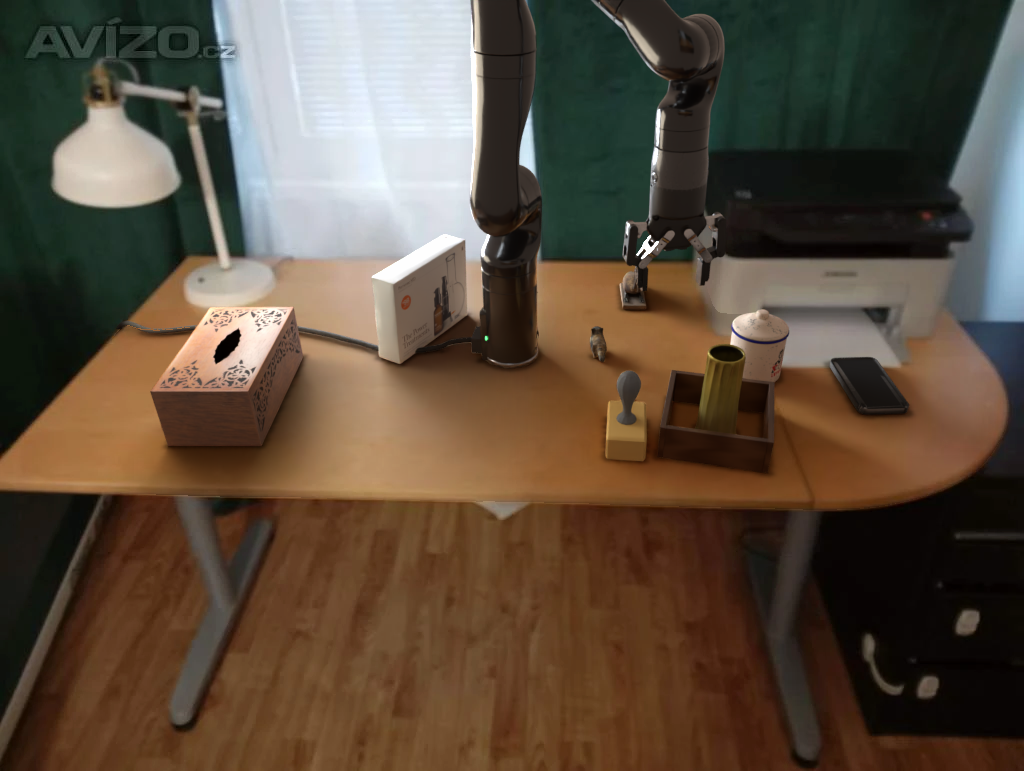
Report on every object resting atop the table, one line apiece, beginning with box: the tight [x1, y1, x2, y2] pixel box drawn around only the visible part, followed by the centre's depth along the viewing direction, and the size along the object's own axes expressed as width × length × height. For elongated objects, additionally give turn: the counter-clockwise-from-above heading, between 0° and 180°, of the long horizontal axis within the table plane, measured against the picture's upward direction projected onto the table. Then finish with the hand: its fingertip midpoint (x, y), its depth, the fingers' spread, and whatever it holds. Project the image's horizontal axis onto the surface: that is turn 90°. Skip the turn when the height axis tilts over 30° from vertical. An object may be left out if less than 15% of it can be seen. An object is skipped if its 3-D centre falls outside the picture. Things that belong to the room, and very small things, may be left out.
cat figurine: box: [589, 325, 608, 363], centre depth 142 cm, size 3×8×4 cm, turn 4°
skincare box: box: [370, 233, 468, 365], centre depth 146 cm, size 21×5×16 cm, turn 148°
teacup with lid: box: [729, 308, 790, 383], centre depth 135 cm, size 12×9×12 cm
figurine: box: [619, 267, 647, 310], centre depth 157 cm, size 14×4×9 cm, turn 177°
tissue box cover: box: [149, 306, 304, 447], centre depth 132 cm, size 26×14×10 cm, turn 178°
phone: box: [829, 356, 910, 416], centre depth 132 cm, size 8×1×15 cm
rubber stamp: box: [604, 370, 648, 462], centre depth 120 cm, size 10×6×12 cm, turn 173°
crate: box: [656, 369, 776, 474], centre depth 122 cm, size 16×16×6 cm
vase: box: [694, 343, 746, 435], centre depth 120 cm, size 6×6×14 cm
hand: (671, 286), depth 119 cm, fingers open, 8 cm apart
